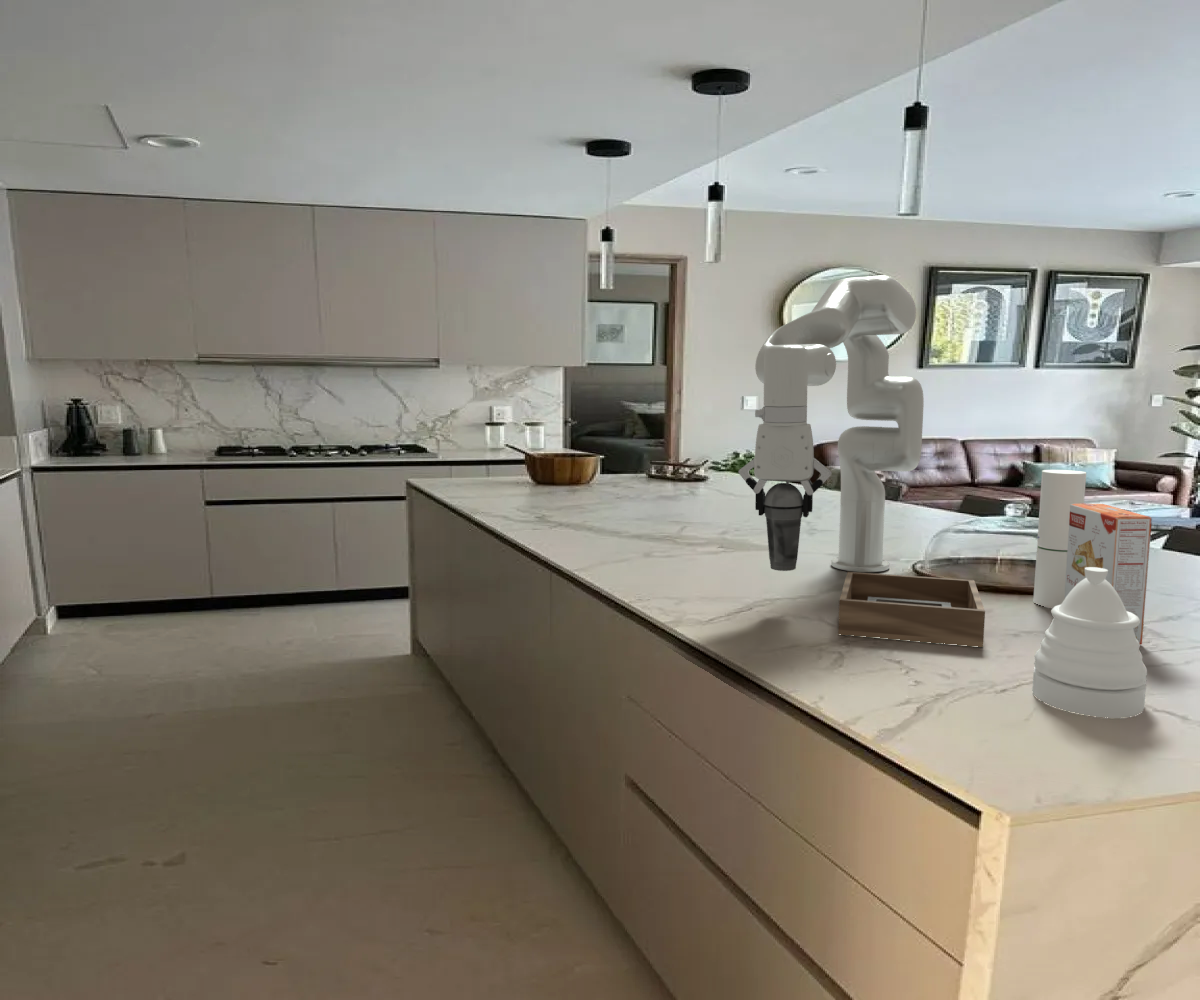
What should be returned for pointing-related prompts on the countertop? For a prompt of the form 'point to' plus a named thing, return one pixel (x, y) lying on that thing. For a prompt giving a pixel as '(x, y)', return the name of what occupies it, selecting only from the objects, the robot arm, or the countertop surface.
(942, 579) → the walled box
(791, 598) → the countertop surface
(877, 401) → the robot arm
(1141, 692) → the honey pot
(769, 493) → the beverage cup
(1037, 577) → the cylindrical container
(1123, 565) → the cracker box
